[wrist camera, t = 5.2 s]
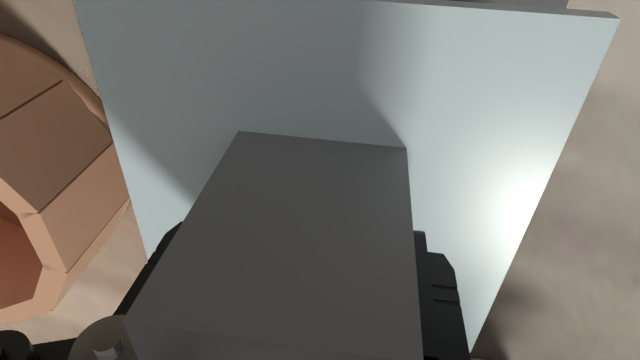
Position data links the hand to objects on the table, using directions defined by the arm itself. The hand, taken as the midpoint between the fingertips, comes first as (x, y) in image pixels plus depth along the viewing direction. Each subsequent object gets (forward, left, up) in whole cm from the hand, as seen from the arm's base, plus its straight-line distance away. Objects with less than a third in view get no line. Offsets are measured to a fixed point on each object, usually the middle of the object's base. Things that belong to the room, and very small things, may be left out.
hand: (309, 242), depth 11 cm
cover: (0, 0, -2) cm, 2 cm away
